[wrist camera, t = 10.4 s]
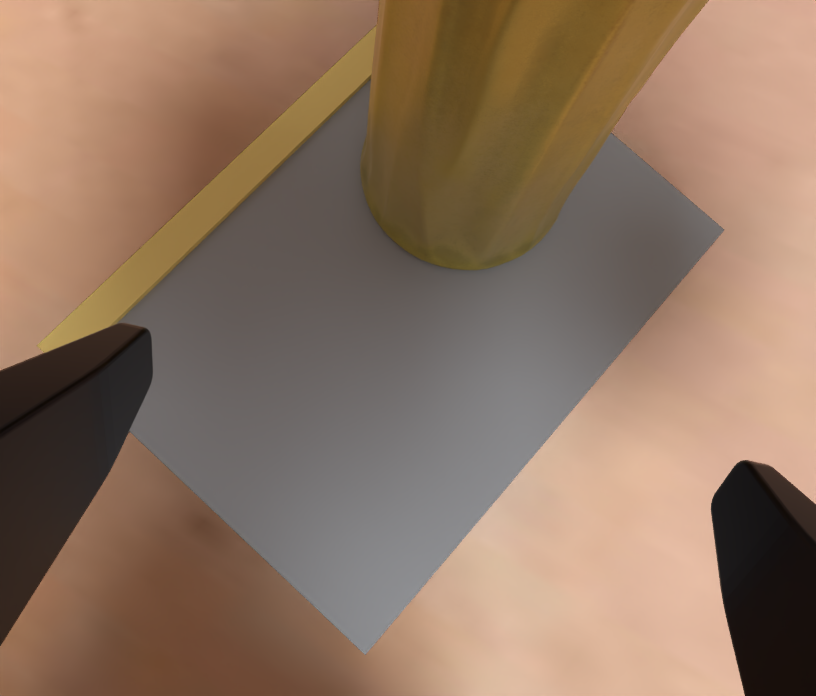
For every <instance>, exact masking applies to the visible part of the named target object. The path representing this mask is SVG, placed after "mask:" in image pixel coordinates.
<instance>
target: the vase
mask: <svg viewBox="0 0 816 696" xmlns="http://www.w3.org/2000/svg"><path fill="white" fill-rule="evenodd" d="M707 2H708V0H379V8H378V20H377V28H376V36H375V44H374V54H373V64H372V74H371V85H370V98H369V110H368V123H367V135H366V138H365V141H364V145H363V149H362V153H361V161H360V172H361V182H362V187H363V191H364V195H365V198H366V201H367V204H368V206H369V208H370V211H371V213H372V214H373V216H374V218H375V220H376V221H377V223H378V224H379V226H380V227H381V228H382V229H383V231H384V232H385V233H386V234H387V235H388V236H389V237H390V238H391V239H392V240H393V241H394V242H395V243H396V244H398V245H399V246H400V247H401V248H403V249H404V250H405V251H407V252H408V253H410V254H412V255H413V256H415V257H417V258H419V259H421V260H423V261H425V262H428V263H431V264H434V265H437V266H440V267H445V268H450V269H458V270H482V269H488V268H491V267H495V266H498V265H501V264H504V263H506V262H509V261H511V260H513V259H516V258H518V257H520V256H522V255H523V254H525V253H526V252H528V251H529V250H531V249H532V248H533V247H534V246H535V245H537V244H538V243H539V242H540V241H541V240H542V239H543V237H544V236H545V235H546V234H547V233H548V232H549V230H550V229H551V227H552V226H553V224H554V223H555V222H556V220H557V218H558V216H559V213H560V211H561V209H562V207H563V205H564V203H565V201H566V200H567V198H568V196H569V195H570V193H571V192H572V190H573V189H574V187H575V186H576V184H577V183H578V181H579V180H580V179H581V177H582V176H583V174H584V173H585V172H586V170H587V169H588V167H589V166H590V164H591V163H592V161H593V160H594V158H595V157H596V155H597V154H598V152H599V151H600V149H601V148H602V146H603V144H604V143H605V141H606V139H607V138H608V136H609V135H610V133H611V131H612V130H613V128H614V127H615V125H616V124H617V122H618V121H619V119H620V118H621V116H622V114H623V113H624V111H625V110H626V108H627V106H628V105H629V103H630V102H631V101H632V99H633V98H634V97H635V96H636V95H637V93H638V92H639V91H640V89H641V88H642V87H643V86H644V84H645V83H646V81H647V80H648V78H649V77H650V76H651V74H652V73H653V71H654V70H655V68H656V67H657V66H658V64H659V63H660V62H661V60H662V59H663V58H664V56H665V55H666V54H667V52H668V51H669V50H670V48H671V47H672V46H673V45H674V43H675V42H676V41H677V39H678V38H679V37H680V35H681V34H682V33H683V32H684V30H685V29H686V28H687V27H688V25H689V24H690V23H691V22H692V20H693V19H694V18H695V17H696V16H697V14H698V13H699V12H700V11H701V9H702V8H703V7H704V6H705V4H706V3H707Z"/></svg>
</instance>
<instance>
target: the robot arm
mask: <svg viewBox="0 0 816 696" xmlns="http://www.w3.org/2000/svg"><path fill="white" fill-rule="evenodd" d="M152 378H153V358H152V337H151V333H150V331H149V330H148V329H147V328H145V327H141V326H137V325H132V324H128V323H118V324H115V325H112V326H110V327H107V328H105V329H102V330H100V331H97V332H95V333H92V334H90V335H88V336H85V337H83V338H80V339H78V340H75V341H73V342H70V343H68V344H65V345H63V346H60V347H58V348H55V349H53V350H50V351H48V352H45V353H43V354H40V355H38V356H35V357H33V358H30V359H28V360H26V361H23V362H21V363H18V364H16V365H13V366H11V367H8V368H6V369H3V370H1V371H0V646H1V644H2V643H3V641H4V639H5V638H6V636H7V635H8V633H9V631H10V630H11V628H12V627H13V625H14V623H15V622H16V620H17V619H18V617H19V616H20V614H21V612H22V611H23V609H24V608H25V606H26V604H27V603H28V601H29V600H30V598H31V596H32V595H33V593H34V592H35V590H36V589H37V587H38V585H39V584H40V582H41V581H42V579H43V577H44V576H45V574H46V573H47V571H48V569H49V568H50V566H51V565H52V563H53V562H54V560H55V558H56V557H57V555H58V554H59V552H60V550H61V549H62V547H63V546H64V544H65V542H66V541H67V539H68V538H69V536H70V535H71V533H72V531H73V530H74V528H75V527H76V525H77V523H78V522H79V520H80V519H81V517H82V515H83V514H84V512H85V511H86V509H87V508H88V506H89V504H90V503H91V501H92V500H93V498H94V496H95V495H96V493H97V492H98V490H99V488H100V487H101V485H102V484H103V482H104V480H105V478H106V477H107V475H108V473H109V472H110V470H111V468H112V466H113V464H114V462H115V460H116V458H117V456H118V454H119V451H120V449H121V447H122V445H123V443H124V441H125V439H126V437H127V435H128V432H129V430H130V428H131V426H132V424H133V422H134V420H135V418H136V416H137V413H138V411H139V409H140V407H141V405H142V403H143V401H144V399H145V396H146V394H147V392H148V390H149V388H150V385H151V382H152ZM711 515H712V522H713V530H714V538H715V546H716V554H717V562H718V570H719V578H720V586H721V592H722V599H723V604H724V609H725V614H726V618H727V623H728V627H729V631H730V635H731V639H732V644H733V648H734V652H735V656H736V660H737V665H738V669H739V673H740V677H741V681H742V685H743V690H744V694H745V696H816V504H815V503H814V502H812V501H811V500H810V499H809V498H808V497H807V496H805V495H804V494H803V493H802V492H801V491H800V490H798V489H797V488H796V487H795V486H794V485H793V484H791V483H790V482H789V481H788V480H787V479H786V478H785V477H783V476H782V475H781V474H780V473H779V472H778V471H776V470H775V469H774V468H773V467H771V466H769V465H766V464H762V463H758V462H753V461H748V460H743V461H740V462H739V463H737V464H736V465H735V466H734V468H733V469H732V470H731V472H730V473H729V475H728V476H727V477H726V479H725V480H724V482H723V483H722V484H721V486H720V487H719V489H718V490H717V491H716V493H715V494H714V497H713V499H712V503H711Z"/></svg>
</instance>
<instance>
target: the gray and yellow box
mask: <svg viewBox="0 0 816 696" xmlns="http://www.w3.org/2000/svg"><path fill="white" fill-rule="evenodd" d="M376 28H377V25H376V26H375V27H374V28H373V29H372V30H371V31H369V32H368V33H367V34H366V35H365V36H364V37H363V38H362V39H361V40H360V41H359V42H358V43H357V44H356V45H355V46H354V47H353V48H351V49H350V50H349V51H348V52H347V53H346V54H345V55H344V56H343V57H342V58H341V59H340V60H339V61H338V62H337V63H336V64H335V65H333V66H332V67H331V68H330V69H329V70H328V71H327V72H326V73H325V74H324V75H323V76H322V77H321V78H320V79H319V80H318V81H317V82H315V83H314V84H313V85H312V86H311V87H310V88H309V89H308V90H307V91H306V92H305V93H304V94H303V95H302V96H301V97H300V98H299V99H297V100H296V101H295V102H294V103H293V104H292V105H291V106H290V107H289V108H288V109H287V110H286V111H285V112H284V113H283V114H282V115H281V116H279V117H278V118H277V119H276V120H275V121H274V122H273V123H272V124H271V125H270V126H269V127H268V128H267V129H266V130H265V131H264V132H263V133H261V134H260V135H259V136H258V137H257V138H256V139H255V140H254V141H253V142H252V143H251V144H250V145H249V146H248V147H247V148H246V149H245V150H243V151H242V152H241V153H240V154H239V155H238V156H237V157H236V158H235V159H234V160H233V161H232V162H231V163H230V164H229V165H228V166H227V167H225V168H224V169H223V170H222V171H221V172H220V173H219V174H218V175H217V176H216V177H215V178H214V179H213V180H212V181H211V182H210V183H209V184H207V185H206V186H205V187H204V188H203V189H202V190H201V191H200V192H199V193H198V194H197V195H196V196H195V197H194V198H193V199H192V200H191V201H189V202H188V203H187V204H186V205H185V206H184V207H183V208H182V209H181V210H180V211H179V212H178V213H177V214H176V215H175V216H174V217H173V218H171V219H170V220H169V221H168V222H167V223H166V224H165V225H164V226H163V227H162V228H161V229H160V230H159V231H158V232H157V233H156V234H155V235H153V236H152V237H151V238H150V239H149V240H148V241H147V242H146V243H145V244H144V245H143V246H142V247H141V248H140V249H139V250H138V251H137V252H135V253H134V254H133V255H132V256H131V257H130V258H129V259H128V260H127V261H126V262H125V263H124V264H123V265H122V266H121V267H120V268H119V269H117V270H116V271H115V272H114V273H113V274H112V275H111V276H110V277H109V278H108V279H107V280H106V281H105V282H104V283H103V284H102V285H101V286H99V287H98V288H97V289H96V290H95V291H94V292H93V293H92V294H91V295H90V296H89V297H88V298H87V299H86V300H85V301H84V302H83V303H81V304H80V305H79V306H78V307H77V308H76V309H75V310H74V311H73V312H72V313H71V314H70V315H69V316H68V317H67V318H66V319H65V320H63V321H62V322H61V323H60V324H59V325H58V326H57V327H56V328H55V329H54V330H53V331H52V332H51V333H50V334H49V335H48V336H47V337H45V338H44V339H43V340H42V341H41V342H40V343H39V344H38V345H37V346H38V347H39V348H40V349H41V350H42V351H43V352H44V353H45V352H48V351H50V350H53V349H55V348H58V347H60V346H63V345H65V344H68V343H70V342H73V341H75V340H78V339H80V338H83V337H85V336H88V335H90V334H92V333H95V332H97V331H100V330H102V329H105V328H107V327H110V326H112V325H115V324H118V323H128V324H132V325H137V326H141V327H145V328H147V329H148V330H149V331H150V333H151V337H152V358H153V378H152V382H151V385H150V388H149V390H148V392H147V394H146V396H145V399H144V401H143V403H142V405H141V407H140V409H139V411H138V413H137V416H136V418H135V420H134V422H133V424H132V426H131V428H130V430H129V431H130V432H131V433H132V434H133V435H134V436H135V437H136V438H137V439H138V440H139V441H140V442H141V443H142V444H143V445H144V446H145V447H146V448H148V449H149V450H150V451H151V452H152V453H153V454H154V455H155V456H156V457H157V458H158V459H159V460H160V461H161V462H162V463H163V464H164V465H165V466H167V467H168V468H169V469H170V470H171V471H172V472H173V473H174V474H175V475H176V476H177V477H178V478H179V479H180V480H181V481H182V482H183V483H184V484H185V485H187V486H188V487H189V488H190V489H191V490H192V491H193V492H194V493H195V494H196V495H197V496H198V497H199V498H200V499H201V500H202V501H203V502H204V503H206V504H207V505H208V506H209V507H210V508H211V509H212V510H213V511H214V512H215V513H216V514H217V515H218V516H219V517H220V518H221V519H222V520H223V521H224V522H226V523H227V524H228V525H229V526H230V527H231V528H232V529H233V530H234V531H235V532H236V533H237V534H238V535H239V536H240V537H241V538H242V539H243V540H244V541H246V542H247V543H248V544H249V545H250V546H251V547H252V548H253V549H254V550H255V551H256V552H257V553H258V554H259V555H260V556H261V557H262V558H263V559H265V560H266V561H267V562H268V563H269V564H270V565H271V566H272V567H273V568H274V569H275V570H276V571H277V572H278V573H279V574H280V575H281V576H282V577H283V578H285V579H286V580H287V581H288V582H289V583H290V584H291V585H292V586H293V587H294V588H295V589H296V590H297V591H298V592H299V593H300V594H301V595H302V596H304V597H305V598H306V599H307V600H308V601H309V602H310V603H311V604H312V605H313V606H314V607H315V608H316V609H317V610H318V611H319V612H320V613H321V614H322V615H324V616H325V617H326V618H327V619H328V620H329V621H330V622H331V623H332V624H333V625H334V626H335V627H336V628H337V629H338V630H339V631H340V632H341V633H343V634H344V635H345V636H346V637H347V638H348V639H349V640H350V641H351V642H352V643H353V644H354V645H355V646H356V647H357V648H358V649H359V650H360V651H361V652H363V653H364V654H365V655H366V653H367V652H368V651H369V650H370V649H371V648H372V646H373V645H374V644H375V643H376V642H377V640H378V639H379V638H380V637H381V636H382V635H383V633H384V632H385V631H386V630H387V629H388V627H389V626H390V625H391V624H392V623H393V622H394V620H395V619H396V618H397V617H398V616H399V614H400V613H401V612H402V611H403V610H404V609H405V607H406V606H407V605H408V604H409V603H410V601H411V600H412V599H413V598H414V597H415V595H416V594H417V593H418V592H419V591H420V590H421V588H422V587H423V586H424V585H425V584H426V582H427V581H428V580H429V579H430V578H431V577H432V575H433V574H434V573H435V572H436V571H437V569H438V568H439V567H440V566H441V565H442V564H443V562H444V561H445V560H446V559H447V558H448V556H449V555H450V554H451V553H452V552H453V551H454V549H455V548H456V547H457V546H458V545H459V543H460V542H461V541H462V540H463V539H464V537H465V536H466V535H467V534H468V533H469V532H470V530H471V529H472V528H473V527H474V526H475V524H476V523H477V522H478V521H479V520H480V519H481V517H482V516H483V515H484V514H485V513H486V511H487V510H488V509H489V508H490V507H491V506H492V504H493V503H494V502H495V501H496V500H497V498H498V497H499V496H500V495H501V494H502V493H503V491H504V490H505V489H506V488H507V487H508V485H509V484H510V483H511V482H512V481H513V479H514V478H515V477H516V476H517V475H518V474H519V472H520V471H521V470H522V469H523V468H524V466H525V465H526V464H527V463H528V462H529V461H530V459H531V458H532V457H533V456H534V455H535V453H536V452H537V451H538V450H539V449H540V448H541V446H542V445H543V444H544V443H545V442H546V440H547V439H548V438H549V437H550V436H551V435H552V433H553V432H554V431H555V430H556V429H557V427H558V426H559V425H560V424H561V423H562V421H563V420H564V419H565V418H566V417H567V416H568V414H569V413H570V412H571V411H572V410H573V408H574V407H575V406H576V405H577V404H578V403H579V401H580V400H581V399H582V398H583V397H584V395H585V394H586V393H587V392H588V391H589V390H590V388H591V387H592V386H593V385H594V384H595V382H596V381H597V380H598V379H599V378H600V377H601V375H602V374H603V373H604V372H605V371H606V369H607V368H608V367H609V366H610V365H611V364H612V362H613V361H614V360H615V359H616V358H617V356H618V355H619V354H620V353H621V352H622V350H623V349H624V348H625V347H626V346H627V345H628V343H629V342H630V341H631V340H632V339H633V337H634V336H635V335H636V334H637V333H638V332H639V330H640V329H641V328H642V327H643V326H644V324H645V323H646V322H647V321H648V320H649V319H650V317H651V316H652V315H653V314H654V313H655V311H656V310H657V309H658V308H659V307H660V306H661V304H662V303H663V302H664V301H665V300H666V298H667V297H668V296H669V295H670V294H671V292H672V291H673V290H674V289H675V288H676V287H677V285H678V284H679V283H680V282H681V281H682V279H683V278H684V277H685V276H686V275H687V274H688V272H689V271H690V270H691V269H692V268H693V266H694V265H695V264H696V263H697V262H698V261H699V259H700V258H701V257H702V256H703V255H704V253H705V252H706V251H707V250H708V249H709V248H710V246H711V245H712V244H713V243H714V242H715V240H716V239H717V238H718V237H719V236H720V234H721V233H722V232H723V231H724V229H723V228H722V227H721V226H719V225H718V224H717V223H716V222H715V221H714V220H712V219H711V218H710V217H709V216H708V215H707V214H705V213H704V212H703V211H702V210H701V209H700V208H698V207H697V206H696V205H695V204H694V203H693V202H691V201H690V200H689V199H688V198H687V197H686V196H684V195H683V194H682V193H681V192H680V191H679V190H677V189H676V188H675V187H674V186H673V185H672V184H670V183H669V182H668V181H667V180H666V179H665V178H663V177H662V176H661V175H660V174H659V173H658V172H656V171H655V170H654V169H653V168H652V167H651V166H649V165H648V164H647V163H646V162H645V161H644V160H642V159H641V158H640V157H639V156H638V155H637V154H635V153H634V152H633V151H632V150H631V149H630V148H628V147H627V146H626V145H625V144H624V143H623V142H621V141H620V140H619V139H618V138H617V137H616V136H614V135H613V134H612V133H610V135H609V136H608V138H607V139H606V141H605V143H604V144H603V146H602V148H601V149H600V151H599V152H598V154H597V155H596V157H595V158H594V160H593V161H592V163H591V164H590V166H589V167H588V169H587V170H586V172H585V173H584V174H583V176H582V177H581V179H580V180H579V181H578V183H577V184H576V186H575V187H574V189H573V190H572V192H571V193H570V195H569V196H568V198H567V200H566V201H565V203H564V205H563V207H562V209H561V211H560V213H559V216H558V218H557V220H556V222H555V223H554V224H553V226H552V227H551V229H550V230H549V232H548V233H547V234H546V235H545V236H544V237H543V239H542V240H541V241H540V242H539V243H538V244H537V245H535V246H534V247H533V248H532V249H531V250H529V251H528V252H526V253H525V254H523V255H522V256H520V257H518V258H516V259H513V260H511V261H509V262H506V263H504V264H501V265H498V266H495V267H491V268H488V269H482V270H458V269H450V268H445V267H440V266H437V265H434V264H431V263H428V262H425V261H423V260H421V259H419V258H417V257H415V256H413V255H412V254H410V253H408V252H407V251H405V250H404V249H403V248H401V247H400V246H399V245H398V244H396V243H395V242H394V241H393V240H392V239H391V238H390V237H389V236H388V235H387V234H386V233H385V232H384V231H383V229H382V228H381V227H380V226H379V224H378V223H377V221H376V220H375V218H374V216H373V214H372V213H371V211H370V208H369V206H368V204H367V201H366V198H365V195H364V191H363V187H362V182H361V172H360V161H361V153H362V149H363V145H364V141H365V138H366V135H367V123H368V110H369V98H370V85H371V74H372V64H373V54H374V44H375V36H376Z"/></svg>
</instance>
